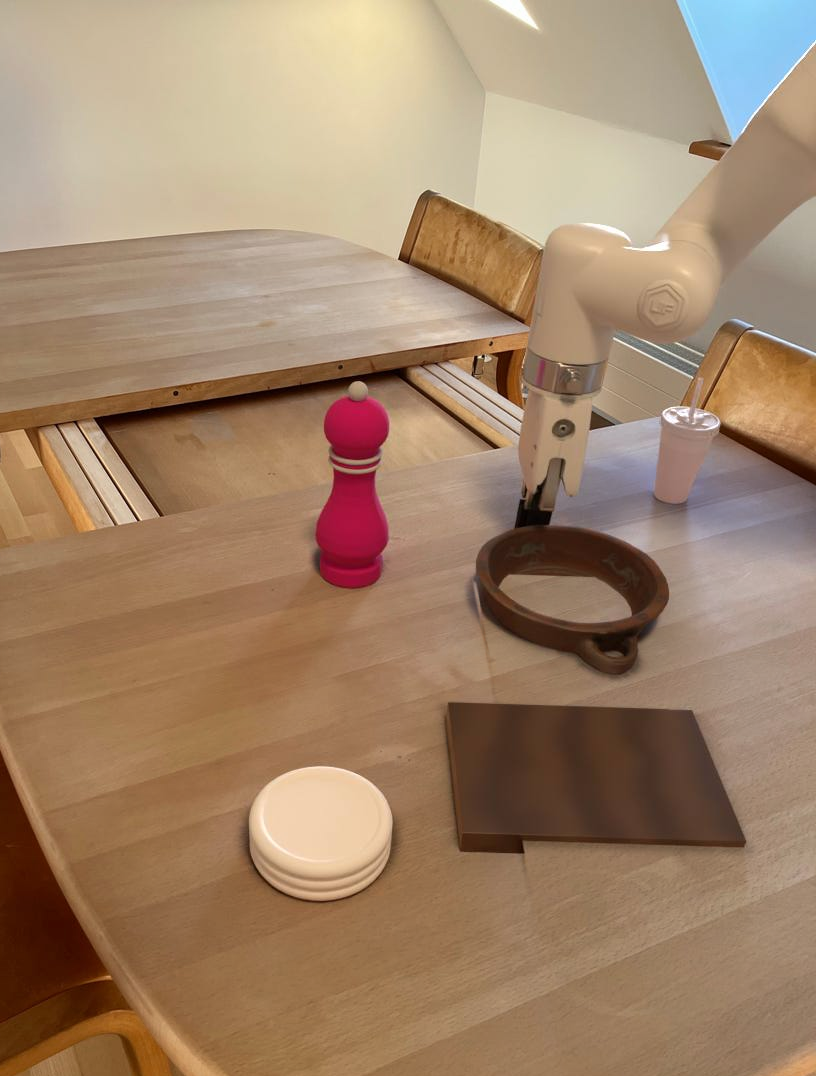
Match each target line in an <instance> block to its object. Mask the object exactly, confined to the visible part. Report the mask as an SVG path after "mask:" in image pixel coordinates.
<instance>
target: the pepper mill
mask: <svg viewBox="0 0 816 1076" xmlns="http://www.w3.org/2000/svg"><path fill="white" fill-rule="evenodd" d="M347 394H348V395H345V396H342V397H341V398H338V399H336V400H335V401H334V402H333V403H332V404H331V405H330V406H329V408H328V409H327V411H326V413H325V416H324V420H323V421H324V422H323V432H324V436H325V439H326V440H327V442H328V443H329V444H330V446H329V447H328V454H329V455H328V458H327V459H328V464H329V465H330V466H331V468H332V472H333V480H332V488H331V491H330V495H329V497H328V499H327V501H326V503H325V504H324V506H323V507H322V509H321V512H320V514H319V516H318V519H317V521H316V527H315V535H314V536H315V542H316V544H317V546H318V548H319V549H320V550H321V552H320V555H319V573H320V575H321V576H322V577H323V579H324V580H325V581H327V582H328V583H330V584H332V585H334V586H337V587H340V588H347V589H348V588H349V589H356V588H363V587H367V586H370V585H372V584H374V583H375V582H376V581H378V580H379V579H380V577H381V575H382V570H383V555H382V553H383V552H384V551H385V549H386V548H387V546H388V544H389V539H390V531H389V523H388V520H387V516H386V513H385V510H384V508H383V506H382V504H381V501H380V499H379V496H378V493H377V489H376V488H377V487H376V475H377V470H378V469H379V468H380V467H381V466H382V464H383V459H382V456H383V454H384V452H383V449H382V446H383V445H384V443H385V442H386V441H387V439H388V436H389V433H390V419H389V414H388V412H387V409H386V408H385V407H384V406H383V405H382V403H380V402H379V401H378V400H376V399H375V398H373V397H370V396H369V395H368V394H369V389H368V387H367V385H366V384H365V383H364V382H362V381H360V380H359V381H358V380H357V381H354V382H352V383H351V384H350V385H349V386H348V391H347Z"/></svg>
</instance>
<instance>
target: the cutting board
mask: <svg viewBox="0 0 816 1076" xmlns="http://www.w3.org/2000/svg"><path fill="white" fill-rule="evenodd" d="M445 726H446V735H447V745H448V753H449V763H450V771H451V772H450V773H451V782H452V790H453V799H454V807H455V808H454V809H455V810H454V811H455V817H456V826H457V836H458V845H459V851H460V852H472V853H474V852H477V853H478V852H480V853H504V854H505V853H507V854H508V853H509V854H525V852H526V851H525V847H524V842H546V843H547V842H551V843H552V842H553V843H580V844H581V843H582V844H583V843H584V844H617V845H643V846H644V845H647V846H648V845H649V846H679V847H680V846H681V847H711V848H712V847H713V848H741V849H742V848H745V846H746V844H747V839H746V837H745V834H744V832H743V830H742V827H741V824H740V822H739V820H738V818H737V815H736V813H735V811H734V808H733V805H732V803H731V801H730V799H729V796H728V794H727V791H726V789H725V785H724V784H723V781H722V778H721V777H720V774H719V771H718V769H717V767H716V765H715V763H714V760H713V757H712V755H711V753H710V750H709V747H708V744H707V742H706V740H705V738H704V735H703V733H702V731H701V729H700V726H699V723H698V721H697V719H696V716H695V714H694V711H693V709H679V708H677V709H675V708H646V707H645V708H644V707H615V706H585V705H584V706H583V705H552V704H551V705H547V704H517V703H515V704H514V703H489V702H485V703H484V702H457V701H455V702H454V701H451V702H450V701H448V702H447V708H446V715H445Z"/></svg>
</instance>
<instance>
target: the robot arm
mask: <svg viewBox="0 0 816 1076" xmlns="http://www.w3.org/2000/svg"><path fill="white" fill-rule="evenodd" d="M815 197H816V40H815V41H814V43H812V45H810V47H809V49H807V51H806V52H805V53H804V54H803V55H802V56H801V58H799V60H798V61H797V62H796V63H795V65H794V66H793V67H792V68H791V69H790V70H789V72H788V73H787V74H786V75H785V76H784V78H783V79H781V81H780V82H779V83H778V84H777V86H776V87H775V88H774V89H773V90H772V92H770V94H769V95H768V96H767V98H766V99H765V100H764V101H763V103H761V104H760V106H759V107H758V108H757V110H755V112H754V113H753V115H752V116H751V117H750V119H749V120H748V122H747V123H746V125H745V126H744V128H743V130H742V131H741V132H740V134H739V135H738V136H737V138H736V139H735V141H734V142H733V143H732V145H730V147H729V148H728V149H727V150H726V151H725V153H724V154H723V155H722V157H721V158H720V159H719V160H718V161H717V163H716V164H715V165H714V166H713V167H712V168H711V169H710V170H709V172H708V173H707V174H706V175H705V176H704V178H703V179H702V180H701V181H700V182H699V183H698V185H697V186H696V187H695V188H694V189H693V190H692V192H691V193H690V194H689V195H688V196H687V197H686V199H685V200H684V201H683V202H682V203H681V204H680V206H679V207H678V208H677V209H676V210H675V212H674V213H673V214H672V215H670V217H669V218H668V220H667V221H666V222H665V223H664V225H662V227H661V228H660V229H659V230H658V231H657V233H656V234H655V235H654V236H653V237H652V238H651V240H650V241H649V243H647V245H646V246H645V247H644V248H635V247H633V244H632V241H631V239H630V237H629V236H628V235H626V234H625V233H624V232H622V231H620V230H618V229H616V228H613V227H611V226H607V225H602V224H596V223H587V222H586V223H585V222H584V223H583V222H580V223H579V222H576V223H575V222H574V223H568V224H563V225H560V226H557V227H556V228H555V229H553V230H552V231H551V232H550V233H549V234H548V236H547V238H546V240H545V243H544V247H543V252H542V257H541V264H540V269H539V275H538V280H537V288H536V291H535V292H536V293H535V297H534V302H533V308H532V314H531V319H530V321H531V322H530V325H529V331H528V335H527V336H528V337H527V342H526V348H525V353H524V359H523V365H522V371H521V376H520V381H521V384H522V385H523V387H526V388H527V395H526V400H525V405H524V408H523V414H522V419H521V425H520V430H519V437H518V445H517V446H518V447H517V450H518V451H517V455H518V459H519V464H520V469H521V472H522V476H523V480H522V486H521V495H520V496H521V498H520V499H519V501H518V506H517V512H516V515H515V521H514V526H513V529H515V528H520V527H526V526H534V525H551V524H550V523H551V519H552V516H553V513H554V512H555V510H556V509H555V508H556V502H557V496H558V492H559V488H560V484H561V482H562V485H563V489H564V492H565V495H566V496H569V497H571V498H575V497H576V496H577V495H578V493H579V489H580V485H581V479H582V474H583V468H584V463H585V457H586V454H587V453H586V452H587V448H588V447H587V446H588V441H589V434H590V428H591V419H592V412H593V411H592V410H593V398H595V397H597V396H598V395H599V394H601V392H602V389H603V388H602V387H603V384H604V380H605V375H606V372H607V367H608V364H609V363H608V362H609V359H610V354H611V351H612V346H613V342H614V337H615V333H616V330H617V331H619V332H622V333H625V334H627V335H629V336H632V337H635V338H637V339H640V340H643V341H646V342H650V343H654V344H663V345H667V344H676V343H680V342H683V341H685V340H687V339H689V338H691V337H692V336H694V335H695V334H697V333H698V332H699V331H700V330H701V329H702V328H703V327H704V325H705V324H706V323H707V321H708V319H709V318H710V316H711V314H712V311H713V309H714V306H715V304H716V300H717V298H718V295H719V292H720V289H721V287H722V286H723V284H724V283H725V282H726V281H727V279H728V278H729V277H730V276H731V275H732V274H733V273H734V272H735V270H736V269H737V268H738V267H739V266H740V265H741V264H742V263H743V262H744V261H745V260H746V259H747V258H748V257H749V256H750V254H751V253H752V252H753V251H755V249H756V248H757V247H758V246H759V245H760V244H761V243H762V242H763V241H764V240H765V239H766V238H767V237H768V236H769V235H770V234H771V233H772V232H773V231H774V230H775V229H776V228H777V227H778V226H779V225H780V224H781V223H782V222H783V221H785V219H787V218H788V217H789V215H791V214H792V213H793V212H794V211H796V210H797V209H798V208H800V207H801V206H802V205H803V204H805V203H806V202H808V201H810V200H811V199H813V198H815Z"/></svg>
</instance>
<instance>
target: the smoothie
mask: <svg viewBox="0 0 816 1076" xmlns="http://www.w3.org/2000/svg"><path fill="white" fill-rule="evenodd" d="M703 382H704V378H703V377H698V378H697V380H696V386H695V389H694V393H693V397H692V400H691V404H690V406H673V407H669V408H666V409H664V410H663V411H662V412H661V414H660V415H661V416H660V418H659V426H660V427H661V429H660V435H659V446H658V454H657V462H656V463H657V464H656V470H655V471H656V472H655V480H654V481H655V482H654V488H653V489H654V491H653V496H654V497H655V498H656V499H657V500H659V501H661V502H663V503H666V504H672V505H678V504H679V505H680V504H683V503H685V502H687V500H688V498H689V495H690V493H691V490H692V488H693V485H694V483H695V481H696V478H697V476H698V475H699V471H700V469H701V467H702V465H703V463H704V460H705V458H706V457H707V456H706V455H707V454H708V451H709V449H710V446H711V445H712V442H713V439H714V437H716V436H717V435H718V434H719V433H720V427H721V424H722V423H721V420H720V419H719V417H717V416H716V415H715V414H714V413H711V412H710V411H707V410H704V409H701V408H697V404H698V401H699V398H700V394H701V390H702V386H703V384H704V383H703Z"/></svg>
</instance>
